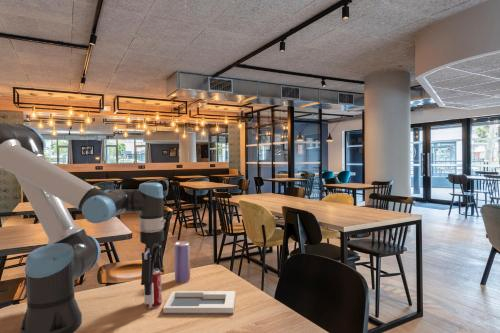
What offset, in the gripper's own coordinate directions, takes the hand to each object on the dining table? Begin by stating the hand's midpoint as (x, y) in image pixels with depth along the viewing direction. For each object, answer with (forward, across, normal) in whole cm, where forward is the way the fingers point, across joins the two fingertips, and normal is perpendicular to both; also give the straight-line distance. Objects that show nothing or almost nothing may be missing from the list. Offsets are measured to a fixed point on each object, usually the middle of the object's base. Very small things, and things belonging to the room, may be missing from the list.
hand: (153, 297), depth 106 cm
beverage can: (+3, +21, -5) cm, 22 cm away
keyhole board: (+3, 0, -16) cm, 16 cm away
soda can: (+3, 0, 0) cm, 3 cm away
